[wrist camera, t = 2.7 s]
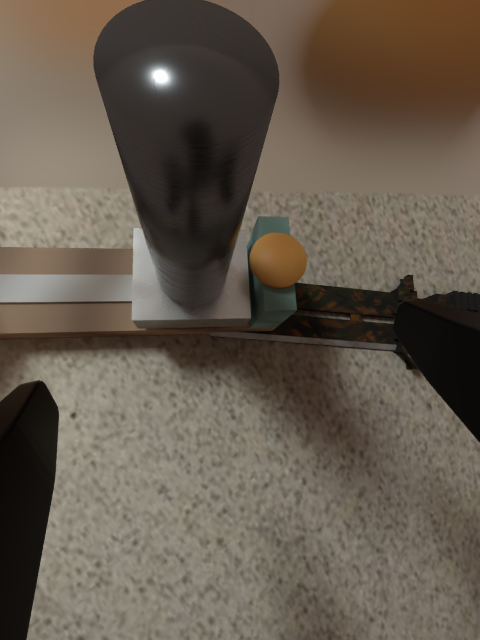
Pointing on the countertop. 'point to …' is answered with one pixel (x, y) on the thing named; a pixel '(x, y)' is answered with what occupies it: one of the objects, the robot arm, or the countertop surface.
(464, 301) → the knife
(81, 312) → the rail
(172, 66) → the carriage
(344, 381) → the countertop surface
